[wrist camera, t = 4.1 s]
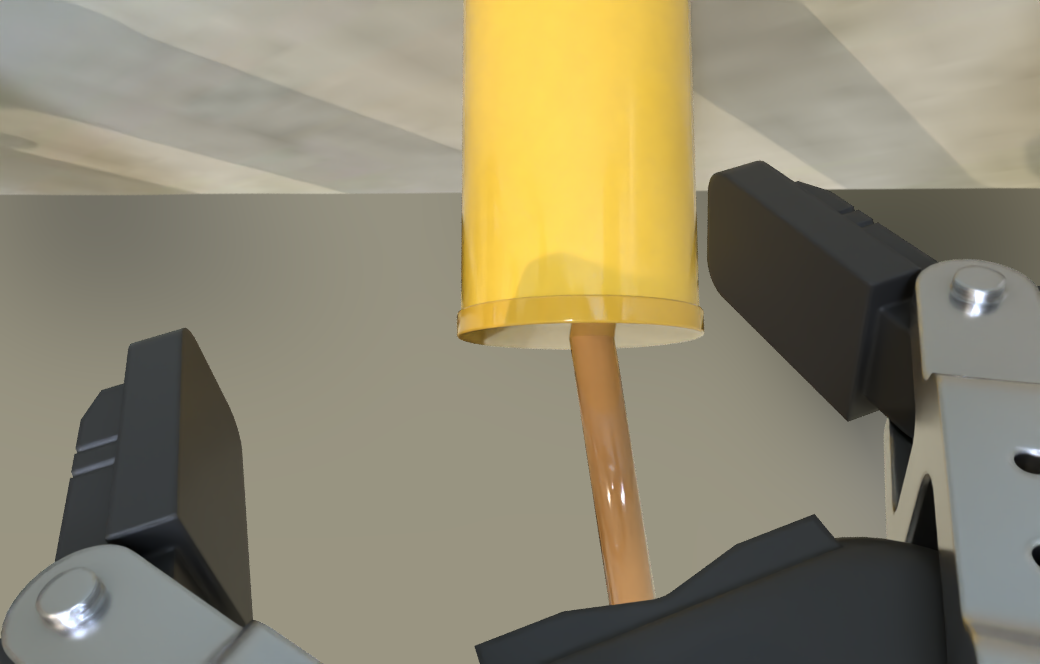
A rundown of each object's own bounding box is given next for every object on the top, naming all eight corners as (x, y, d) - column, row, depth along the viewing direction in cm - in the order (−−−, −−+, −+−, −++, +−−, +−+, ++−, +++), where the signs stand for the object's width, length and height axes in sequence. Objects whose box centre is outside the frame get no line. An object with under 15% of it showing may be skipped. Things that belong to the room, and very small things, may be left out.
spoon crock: (473, -13, 24) (469, 736, 21) (444, -160, 18) (433, 860, 15) (673, -19, 23) (693, 741, 21) (712, -170, 17) (747, 868, 15)
